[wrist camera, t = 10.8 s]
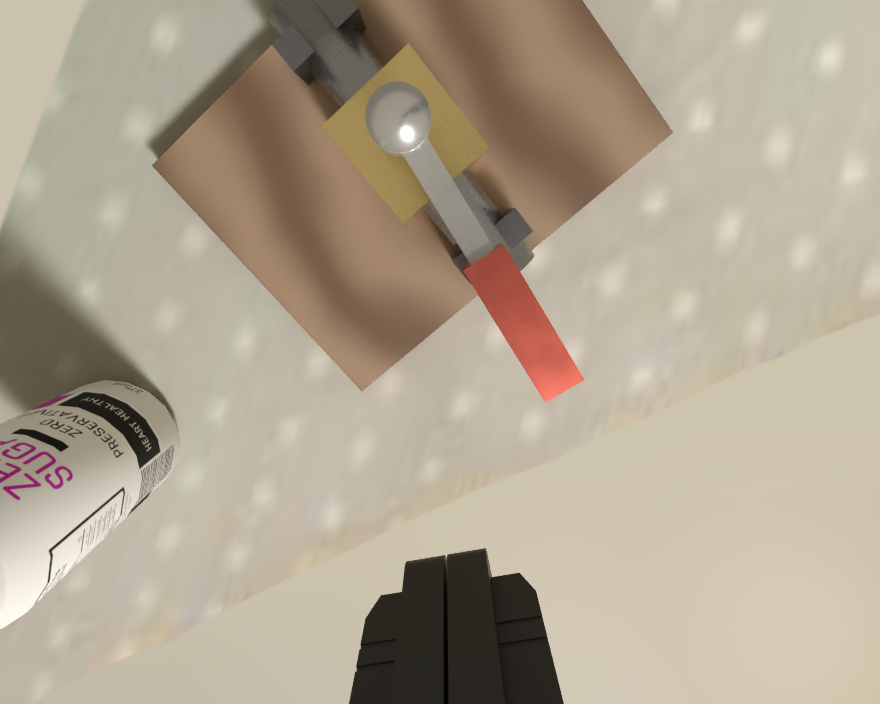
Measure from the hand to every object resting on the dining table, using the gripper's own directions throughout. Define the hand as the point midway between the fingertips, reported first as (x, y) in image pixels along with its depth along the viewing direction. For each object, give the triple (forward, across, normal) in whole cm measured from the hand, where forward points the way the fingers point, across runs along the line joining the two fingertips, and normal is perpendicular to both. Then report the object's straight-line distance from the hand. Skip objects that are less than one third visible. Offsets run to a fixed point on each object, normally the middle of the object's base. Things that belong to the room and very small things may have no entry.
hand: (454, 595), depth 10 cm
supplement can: (+25, +23, +3) cm, 34 cm away
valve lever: (+16, -2, -5) cm, 17 cm away
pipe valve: (+25, 0, -11) cm, 27 cm away
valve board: (+25, 0, -11) cm, 27 cm away
